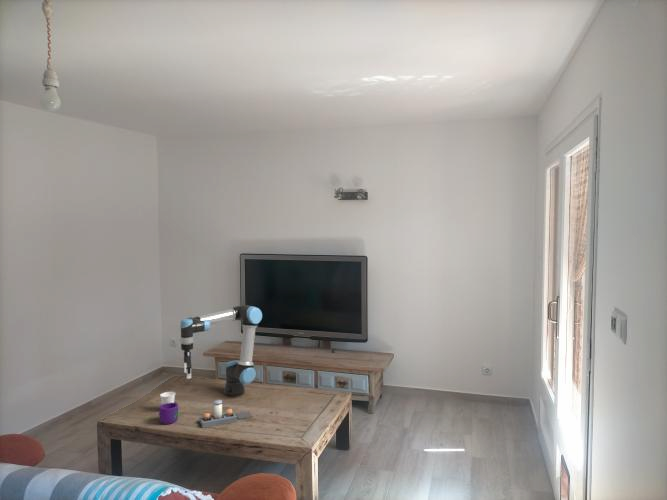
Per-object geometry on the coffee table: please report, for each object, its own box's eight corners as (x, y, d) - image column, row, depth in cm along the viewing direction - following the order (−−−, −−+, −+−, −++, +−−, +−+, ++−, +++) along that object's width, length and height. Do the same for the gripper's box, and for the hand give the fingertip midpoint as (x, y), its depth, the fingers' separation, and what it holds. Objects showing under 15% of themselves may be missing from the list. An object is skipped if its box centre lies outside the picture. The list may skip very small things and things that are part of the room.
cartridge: (221, 418, 305) (221, 399, 305) (223, 421, 300) (222, 401, 300) (213, 420, 303) (212, 400, 302) (214, 423, 298) (214, 403, 298)
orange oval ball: (231, 413, 307) (231, 408, 307) (232, 414, 304) (232, 410, 304) (225, 414, 305) (225, 409, 305) (227, 415, 302) (226, 411, 302)
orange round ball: (209, 416, 301) (209, 412, 301) (210, 418, 298) (210, 414, 298) (203, 417, 299) (203, 413, 299) (204, 419, 296) (204, 415, 296)
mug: (173, 425, 296) (172, 409, 296) (155, 424, 298) (155, 408, 298) (186, 414, 314) (185, 399, 313) (169, 413, 315) (169, 398, 315)
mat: (248, 412, 317) (248, 411, 317) (252, 417, 309) (252, 416, 309) (235, 414, 313) (235, 414, 313) (238, 419, 305) (238, 418, 305)
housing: (232, 415, 311) (232, 411, 311) (236, 421, 301) (236, 417, 301) (199, 421, 302) (199, 416, 302) (202, 427, 292) (202, 423, 292)
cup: (170, 413, 315) (170, 397, 315) (157, 412, 317) (156, 396, 317) (178, 408, 325) (178, 392, 325) (165, 407, 327) (164, 391, 326)
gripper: (179, 339, 323) (179, 371, 323) (183, 348, 300) (183, 381, 301) (190, 338, 325) (191, 369, 326) (195, 346, 303) (196, 380, 304)
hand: (187, 375), depth 314 cm, fingers open, 13 cm apart
